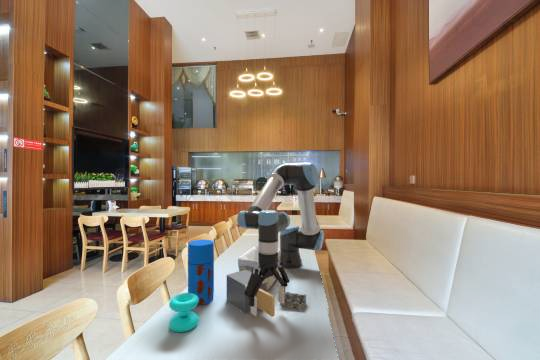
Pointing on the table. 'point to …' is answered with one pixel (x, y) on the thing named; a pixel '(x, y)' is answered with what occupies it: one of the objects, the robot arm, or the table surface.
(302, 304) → the egg carton
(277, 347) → the table surface
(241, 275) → the box
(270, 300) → the ticket
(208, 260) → the thermos
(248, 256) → the storage basket
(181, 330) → the turquoise hourglass spool
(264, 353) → the table surface
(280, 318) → the table surface
